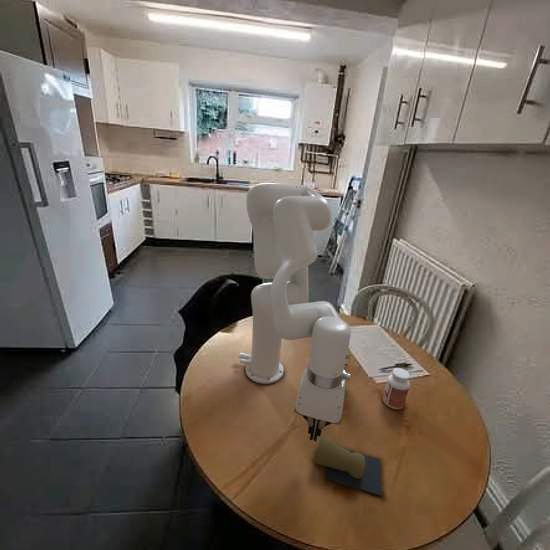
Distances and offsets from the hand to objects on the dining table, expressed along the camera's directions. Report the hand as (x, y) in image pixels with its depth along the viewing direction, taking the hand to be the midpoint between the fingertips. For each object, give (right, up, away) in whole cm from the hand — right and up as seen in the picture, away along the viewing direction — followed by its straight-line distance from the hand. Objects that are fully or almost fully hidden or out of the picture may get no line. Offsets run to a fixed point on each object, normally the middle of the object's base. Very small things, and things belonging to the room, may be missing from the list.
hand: (313, 435), depth 72 cm
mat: (+10, -8, +1) cm, 13 cm away
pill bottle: (+27, -1, +22) cm, 35 cm away
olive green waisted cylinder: (+1, -4, +2) cm, 4 cm away
